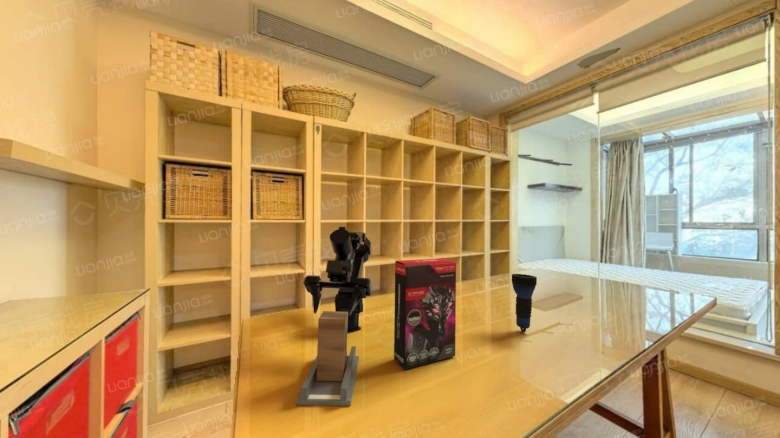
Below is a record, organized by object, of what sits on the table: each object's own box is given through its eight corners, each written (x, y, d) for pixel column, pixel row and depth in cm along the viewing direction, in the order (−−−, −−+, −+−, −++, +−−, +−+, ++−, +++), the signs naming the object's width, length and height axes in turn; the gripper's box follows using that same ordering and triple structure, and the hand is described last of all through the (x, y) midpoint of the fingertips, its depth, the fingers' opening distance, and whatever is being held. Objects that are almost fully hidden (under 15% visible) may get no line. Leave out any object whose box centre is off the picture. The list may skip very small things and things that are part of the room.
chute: (318, 358, 72) (318, 345, 72) (358, 359, 72) (359, 346, 72) (296, 405, 54) (296, 387, 54) (350, 406, 54) (351, 388, 54)
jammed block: (321, 368, 65) (323, 311, 65) (346, 368, 65) (348, 311, 65) (316, 380, 60) (318, 318, 60) (343, 381, 60) (345, 319, 60)
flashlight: (522, 326, 99) (524, 272, 99) (540, 335, 92) (542, 277, 92) (505, 328, 97) (506, 273, 97) (522, 337, 89) (524, 278, 89)
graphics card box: (403, 372, 67) (407, 263, 67) (390, 358, 73) (394, 259, 73) (456, 357, 75) (459, 261, 75) (440, 347, 81) (443, 257, 81)
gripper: (306, 247, 76) (288, 297, 65) (371, 249, 75) (363, 301, 64) (315, 269, 84) (300, 317, 73) (374, 271, 83) (367, 321, 72)
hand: (331, 314), depth 70 cm, fingers open, 9 cm apart
